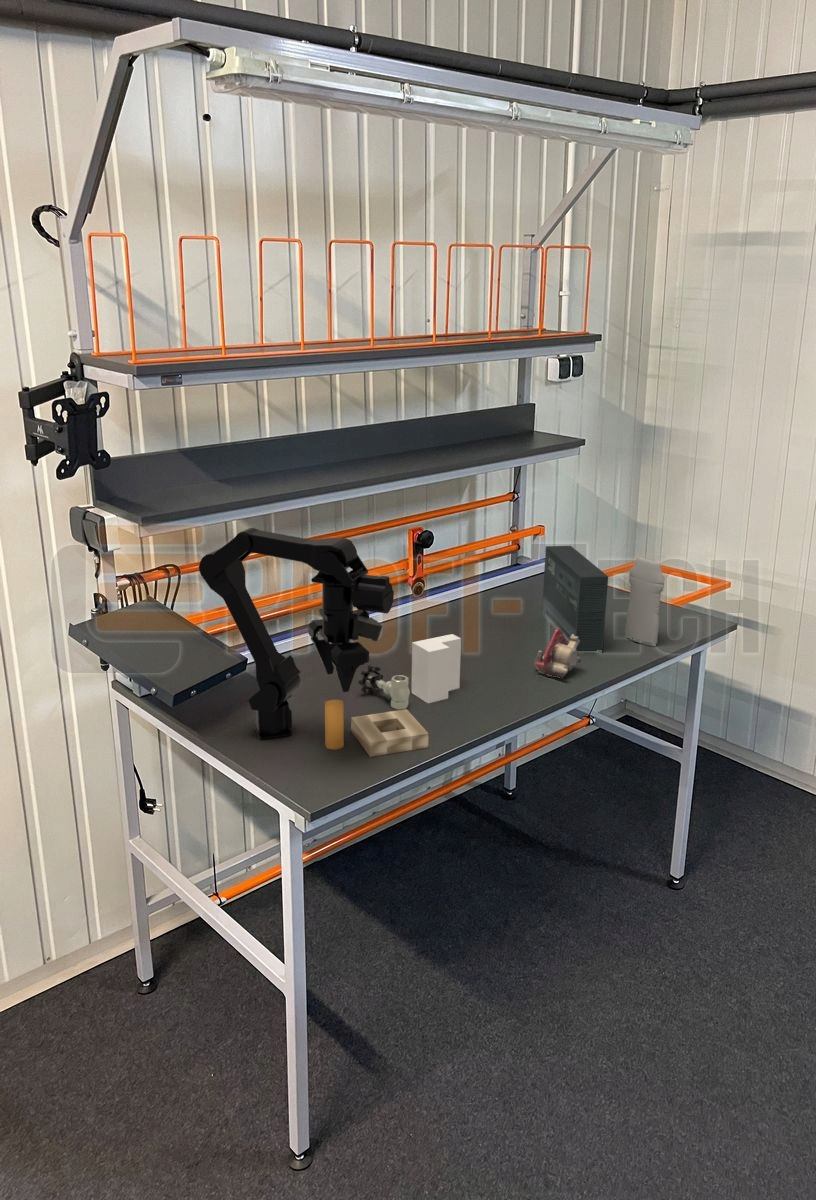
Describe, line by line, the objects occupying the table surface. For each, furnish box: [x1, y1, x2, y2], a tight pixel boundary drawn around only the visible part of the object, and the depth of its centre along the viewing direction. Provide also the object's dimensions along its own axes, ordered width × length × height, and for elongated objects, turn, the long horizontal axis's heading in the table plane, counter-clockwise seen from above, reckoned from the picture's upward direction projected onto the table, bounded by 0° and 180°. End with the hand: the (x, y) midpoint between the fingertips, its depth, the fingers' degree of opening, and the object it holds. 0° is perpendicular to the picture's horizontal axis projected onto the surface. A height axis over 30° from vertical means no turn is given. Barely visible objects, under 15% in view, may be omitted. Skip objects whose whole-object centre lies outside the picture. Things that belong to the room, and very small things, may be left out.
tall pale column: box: [624, 557, 665, 644], centre depth 243 cm, size 11×4×22 cm, turn 39°
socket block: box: [350, 708, 429, 758], centre depth 191 cm, size 12×12×3 cm
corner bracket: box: [410, 633, 462, 704], centre depth 214 cm, size 11×11×12 cm
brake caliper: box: [533, 628, 584, 679], centre depth 224 cm, size 11×11×12 cm
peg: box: [324, 698, 345, 750], centre depth 187 cm, size 4×4×9 cm
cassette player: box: [541, 545, 609, 651], centre depth 249 cm, size 29×7×20 cm, turn 9°
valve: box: [357, 664, 411, 711], centre depth 208 cm, size 7×7×12 cm
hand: (337, 682), depth 186 cm, fingers open, 9 cm apart
